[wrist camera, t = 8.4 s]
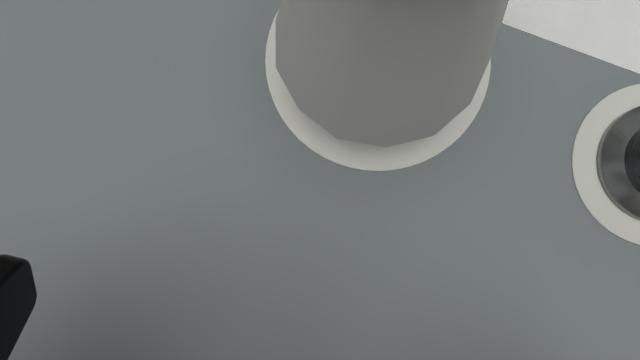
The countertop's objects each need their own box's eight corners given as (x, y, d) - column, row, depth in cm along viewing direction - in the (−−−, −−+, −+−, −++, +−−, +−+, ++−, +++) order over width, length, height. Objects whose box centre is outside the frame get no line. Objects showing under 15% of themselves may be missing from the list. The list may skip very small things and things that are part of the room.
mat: (598, 638, 17) (604, 648, 17) (-170, 309, 19) (-182, 311, 18) (778, 96, 19) (788, 93, 18) (51, -169, 20) (45, -178, 20)
